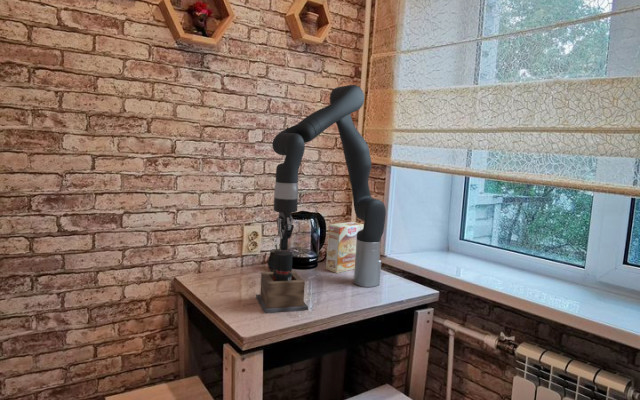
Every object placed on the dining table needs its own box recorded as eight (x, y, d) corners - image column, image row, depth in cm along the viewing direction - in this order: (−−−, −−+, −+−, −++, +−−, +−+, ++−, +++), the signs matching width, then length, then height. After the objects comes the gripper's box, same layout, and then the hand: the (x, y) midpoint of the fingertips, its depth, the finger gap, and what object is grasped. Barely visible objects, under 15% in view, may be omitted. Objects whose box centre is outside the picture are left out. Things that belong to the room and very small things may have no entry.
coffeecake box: (336, 273, 178) (339, 227, 176) (325, 269, 183) (327, 224, 181) (361, 268, 188) (364, 223, 186) (349, 264, 193) (352, 221, 191)
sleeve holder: (295, 294, 151) (297, 269, 150) (307, 310, 138) (309, 282, 137) (256, 297, 146) (256, 271, 145) (264, 313, 133) (265, 285, 132)
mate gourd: (270, 273, 174) (271, 248, 173) (265, 267, 181) (265, 244, 180) (287, 271, 177) (288, 247, 176) (281, 266, 184) (282, 243, 183)
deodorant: (287, 301, 138) (289, 256, 136) (270, 299, 140) (271, 254, 138) (292, 295, 144) (294, 251, 142) (275, 293, 145) (277, 249, 143)
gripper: (303, 199, 132) (300, 254, 135) (291, 194, 145) (289, 244, 147) (279, 199, 130) (277, 255, 132) (269, 193, 142) (267, 245, 145)
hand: (283, 249), depth 140 cm, fingers closed
